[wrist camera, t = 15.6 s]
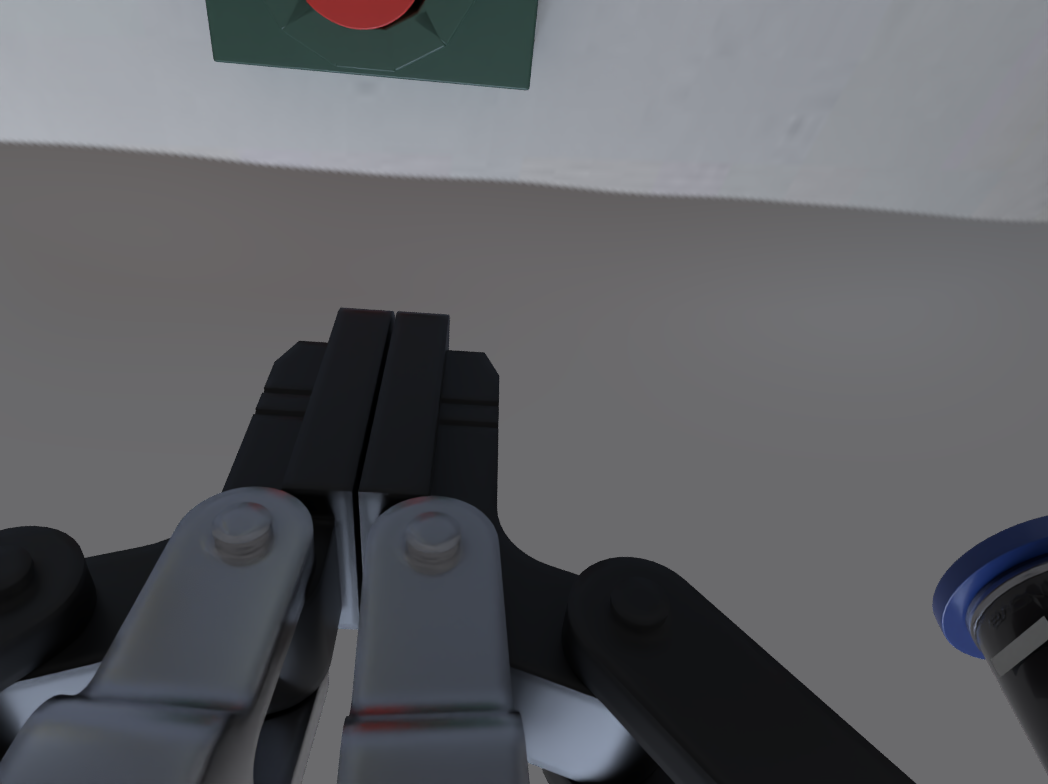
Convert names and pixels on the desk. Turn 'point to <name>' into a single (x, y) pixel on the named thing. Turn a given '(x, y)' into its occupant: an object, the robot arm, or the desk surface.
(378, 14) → the button
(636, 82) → the desk surface
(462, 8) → the button box
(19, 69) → the desk surface
